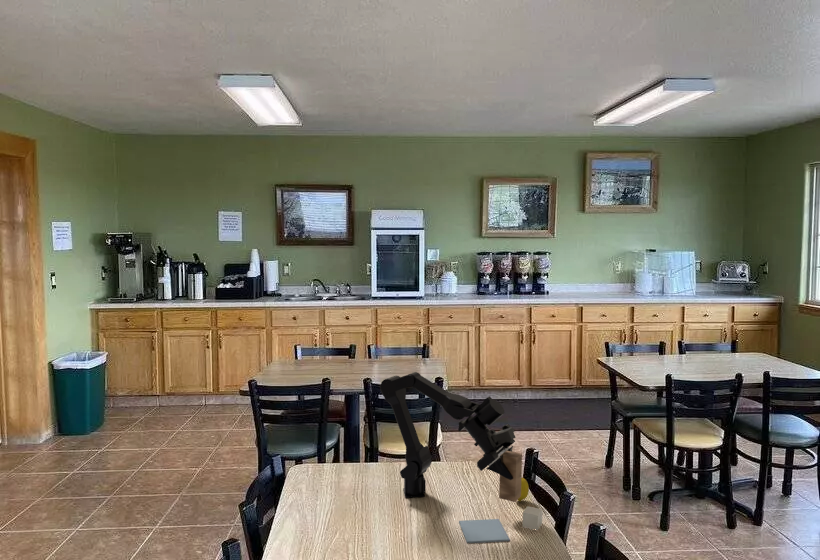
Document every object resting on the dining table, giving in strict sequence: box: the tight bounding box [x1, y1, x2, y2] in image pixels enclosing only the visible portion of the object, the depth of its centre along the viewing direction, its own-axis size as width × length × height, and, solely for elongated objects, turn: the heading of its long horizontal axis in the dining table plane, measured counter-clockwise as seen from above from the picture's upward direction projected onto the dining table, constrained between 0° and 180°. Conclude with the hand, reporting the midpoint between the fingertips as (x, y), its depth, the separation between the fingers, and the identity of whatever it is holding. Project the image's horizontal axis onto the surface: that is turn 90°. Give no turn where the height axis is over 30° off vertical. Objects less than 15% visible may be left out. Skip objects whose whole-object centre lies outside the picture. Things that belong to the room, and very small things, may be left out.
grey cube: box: [522, 505, 543, 531], centre depth 167 cm, size 4×4×4 cm
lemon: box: [517, 476, 530, 502], centre depth 183 cm, size 6×6×8 cm
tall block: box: [498, 451, 523, 503], centre depth 172 cm, size 5×5×13 cm
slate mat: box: [458, 518, 511, 544], centre depth 164 cm, size 12×12×1 cm
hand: (515, 476), depth 172 cm, fingers closed on tall block, 5 cm apart
